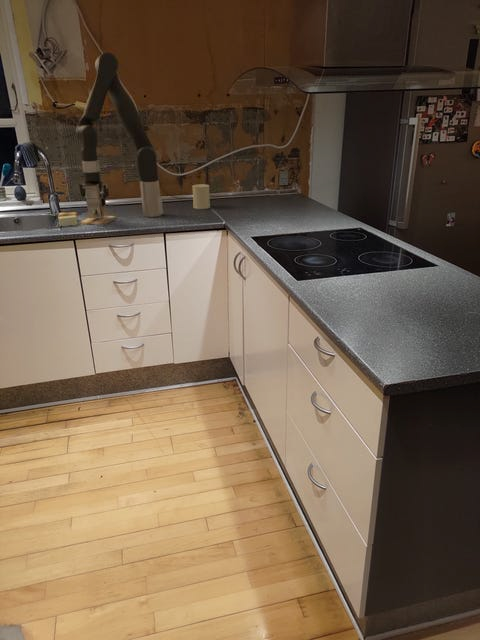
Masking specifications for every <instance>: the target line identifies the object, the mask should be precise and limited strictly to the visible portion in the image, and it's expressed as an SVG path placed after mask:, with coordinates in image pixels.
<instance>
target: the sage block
mask: <svg viewBox="0 0 480 640" xmlns="http://www.w3.org/2000/svg"><path fill="white" fill-rule="evenodd" d="M57 218H58V223H59V224H58V226H59V227H60V226H63V227H70V226H69V225H72V226H77V225H78V220H77V218H78V216H77V217H76V215H72V216H63V217H58V216H57Z"/></svg>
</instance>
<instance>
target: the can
mask: <svg viewBox="0 0 480 640" xmlns="http://www.w3.org/2000/svg"><path fill="white" fill-rule="evenodd" d="M191 189H192V199H193V200H192V201H193V202H192V205H193V209H195V210H204V209H205V210H206V209H210V208H211V203H210V201H211V200H210V198H211V197H210V185H209V184H203V183H201V184H199V183H198V184H194V185H192V188H191Z"/></svg>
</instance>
